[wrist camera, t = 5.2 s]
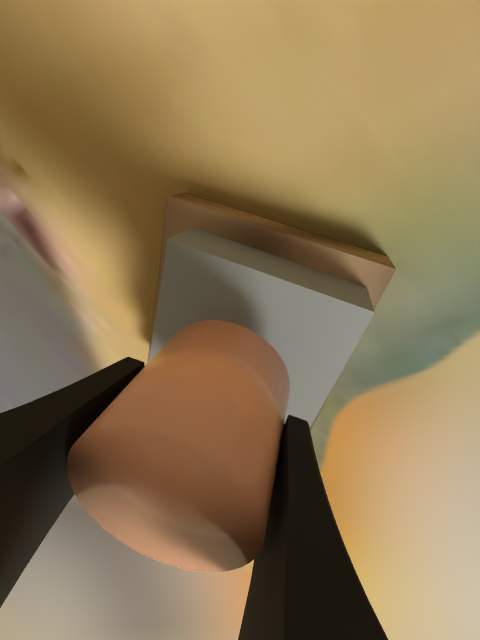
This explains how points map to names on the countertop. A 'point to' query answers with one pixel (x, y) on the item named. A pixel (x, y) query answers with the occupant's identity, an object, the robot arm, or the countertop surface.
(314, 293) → the gray slab
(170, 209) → the walnut slab
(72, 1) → the countertop surface
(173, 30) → the countertop surface
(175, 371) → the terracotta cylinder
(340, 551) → the robot arm
